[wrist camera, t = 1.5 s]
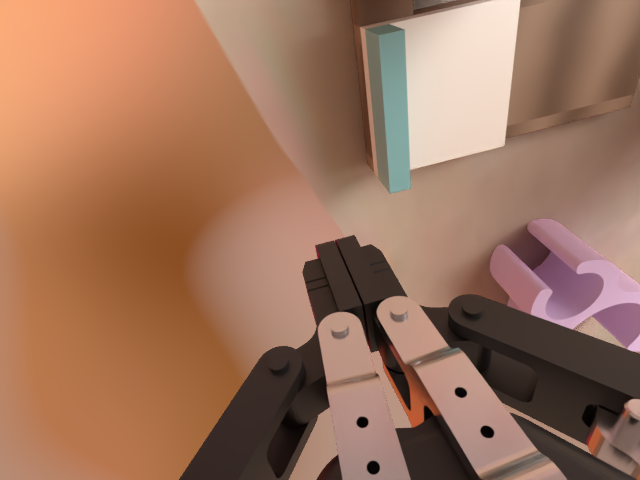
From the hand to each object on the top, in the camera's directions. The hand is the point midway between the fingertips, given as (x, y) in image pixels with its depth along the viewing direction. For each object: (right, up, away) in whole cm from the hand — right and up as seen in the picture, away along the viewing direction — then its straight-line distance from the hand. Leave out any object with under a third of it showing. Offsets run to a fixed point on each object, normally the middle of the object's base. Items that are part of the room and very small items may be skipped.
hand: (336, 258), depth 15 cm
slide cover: (+7, +11, +13) cm, 19 cm away
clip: (+25, -4, +30) cm, 39 cm away
